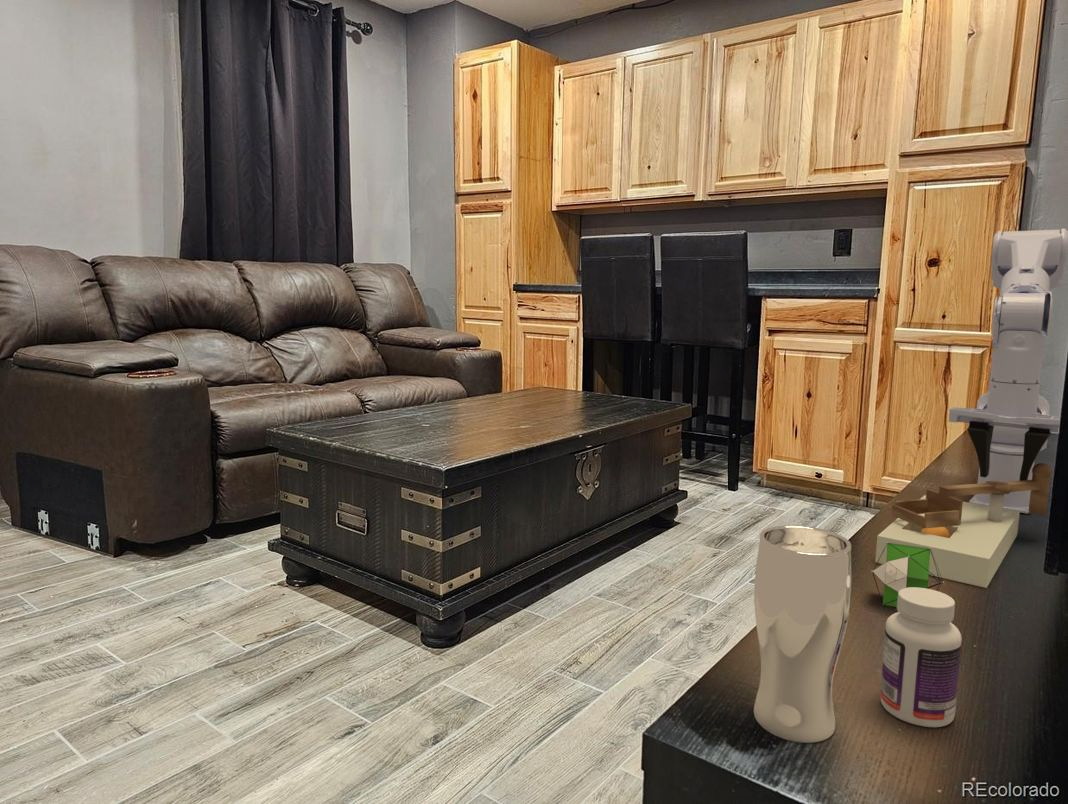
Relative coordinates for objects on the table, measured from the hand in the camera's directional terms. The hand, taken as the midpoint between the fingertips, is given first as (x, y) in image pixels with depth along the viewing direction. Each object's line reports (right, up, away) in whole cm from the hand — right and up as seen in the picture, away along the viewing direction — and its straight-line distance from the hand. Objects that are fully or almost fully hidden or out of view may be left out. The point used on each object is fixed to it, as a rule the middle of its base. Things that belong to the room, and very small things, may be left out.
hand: (1003, 478), depth 99 cm
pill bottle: (-34, -15, -41) cm, 55 cm away
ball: (-13, -7, -7) cm, 16 cm away
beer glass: (-45, -15, -43) cm, 64 cm away
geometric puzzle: (-25, -12, -22) cm, 35 cm away
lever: (-7, -5, -5) cm, 9 cm away
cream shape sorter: (-10, -9, -4) cm, 14 cm away
